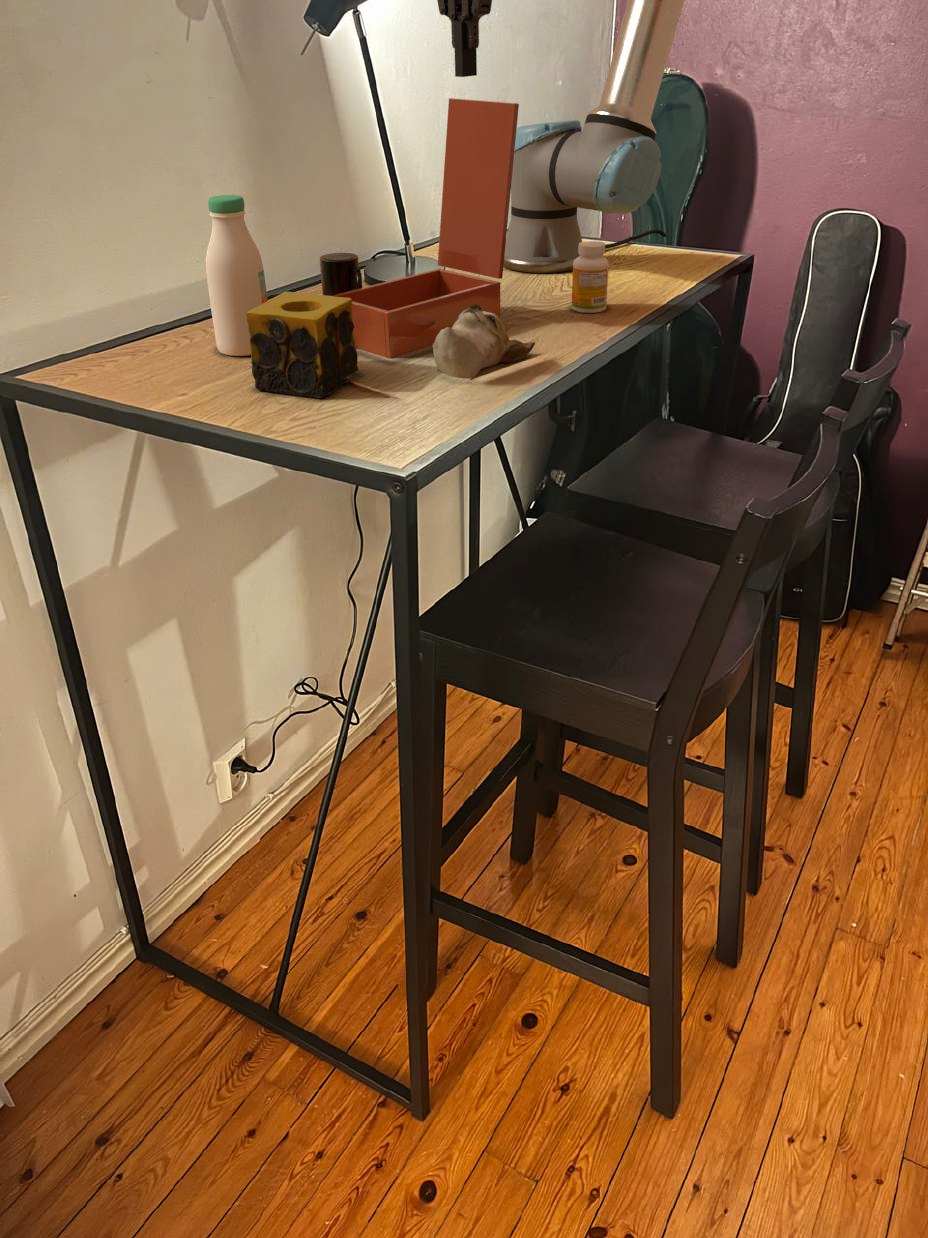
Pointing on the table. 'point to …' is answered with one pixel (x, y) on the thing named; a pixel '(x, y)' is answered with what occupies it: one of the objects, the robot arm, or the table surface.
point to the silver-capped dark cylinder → (340, 273)
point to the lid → (477, 185)
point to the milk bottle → (232, 274)
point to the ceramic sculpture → (475, 344)
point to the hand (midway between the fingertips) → (466, 75)
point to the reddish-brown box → (416, 309)
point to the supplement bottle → (590, 278)
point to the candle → (302, 344)
